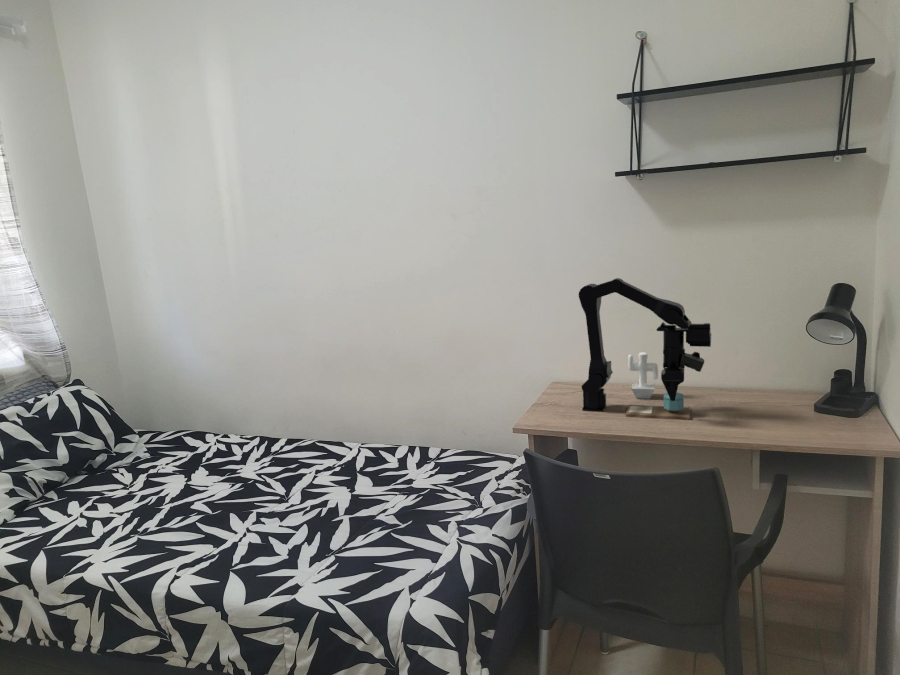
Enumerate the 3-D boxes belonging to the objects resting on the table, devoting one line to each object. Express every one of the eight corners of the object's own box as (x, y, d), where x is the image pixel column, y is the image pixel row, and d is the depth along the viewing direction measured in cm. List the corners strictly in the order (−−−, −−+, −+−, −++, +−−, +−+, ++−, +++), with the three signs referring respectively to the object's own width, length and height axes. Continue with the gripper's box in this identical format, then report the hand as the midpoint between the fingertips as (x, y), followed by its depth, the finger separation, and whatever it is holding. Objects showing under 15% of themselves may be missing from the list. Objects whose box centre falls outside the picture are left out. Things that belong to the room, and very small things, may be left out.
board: (625, 416, 187) (625, 400, 186) (628, 407, 197) (628, 392, 196) (689, 419, 181) (689, 403, 180) (689, 410, 190) (689, 394, 189)
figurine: (658, 400, 202) (657, 355, 200) (628, 399, 205) (627, 355, 203) (658, 394, 209) (658, 350, 206) (629, 393, 212) (628, 350, 209)
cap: (663, 409, 185) (663, 397, 184) (664, 404, 190) (664, 392, 190) (683, 410, 183) (683, 397, 182) (683, 405, 188) (683, 392, 188)
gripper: (703, 352, 172) (702, 406, 175) (702, 340, 189) (701, 389, 192) (661, 351, 176) (661, 404, 179) (663, 339, 193) (663, 388, 196)
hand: (673, 396), depth 186 cm, fingers open, 9 cm apart
